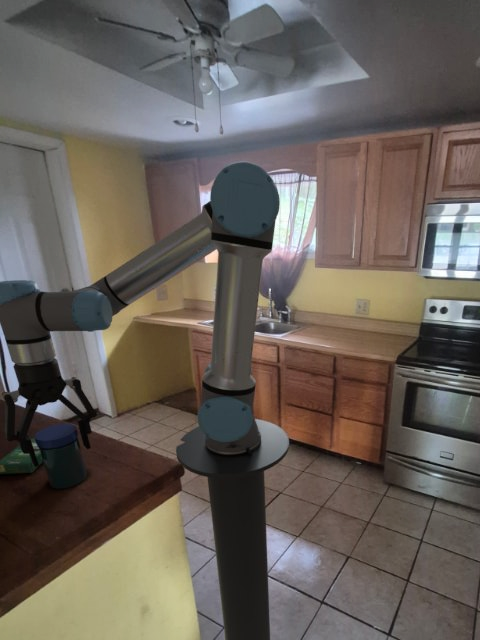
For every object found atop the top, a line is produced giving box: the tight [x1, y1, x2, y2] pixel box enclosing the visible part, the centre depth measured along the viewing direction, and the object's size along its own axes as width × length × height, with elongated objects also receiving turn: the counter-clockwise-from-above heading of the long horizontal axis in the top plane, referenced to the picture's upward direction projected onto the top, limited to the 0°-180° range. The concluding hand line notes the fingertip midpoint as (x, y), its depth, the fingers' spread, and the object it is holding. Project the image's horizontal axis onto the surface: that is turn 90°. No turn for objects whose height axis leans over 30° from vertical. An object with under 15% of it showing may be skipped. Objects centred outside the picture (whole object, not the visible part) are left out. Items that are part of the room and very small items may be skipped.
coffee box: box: [0, 437, 43, 475], centre depth 93 cm, size 8×3×13 cm
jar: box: [38, 435, 88, 490], centre depth 84 cm, size 8×8×12 cm
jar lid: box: [34, 423, 79, 448], centre depth 82 cm, size 8×8×2 cm
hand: (62, 454), depth 84 cm, fingers open, 10 cm apart
